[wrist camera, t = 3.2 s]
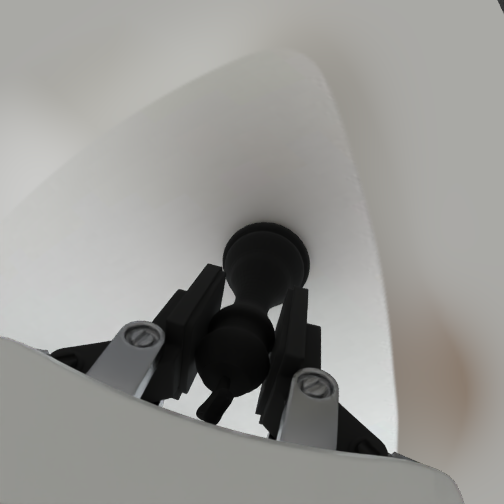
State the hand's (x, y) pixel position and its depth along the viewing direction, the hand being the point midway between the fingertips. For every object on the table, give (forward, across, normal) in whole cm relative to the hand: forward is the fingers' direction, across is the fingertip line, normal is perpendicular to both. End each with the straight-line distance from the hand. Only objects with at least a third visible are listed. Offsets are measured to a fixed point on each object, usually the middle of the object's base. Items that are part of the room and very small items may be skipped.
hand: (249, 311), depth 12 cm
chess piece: (+5, 0, 0) cm, 5 cm away
